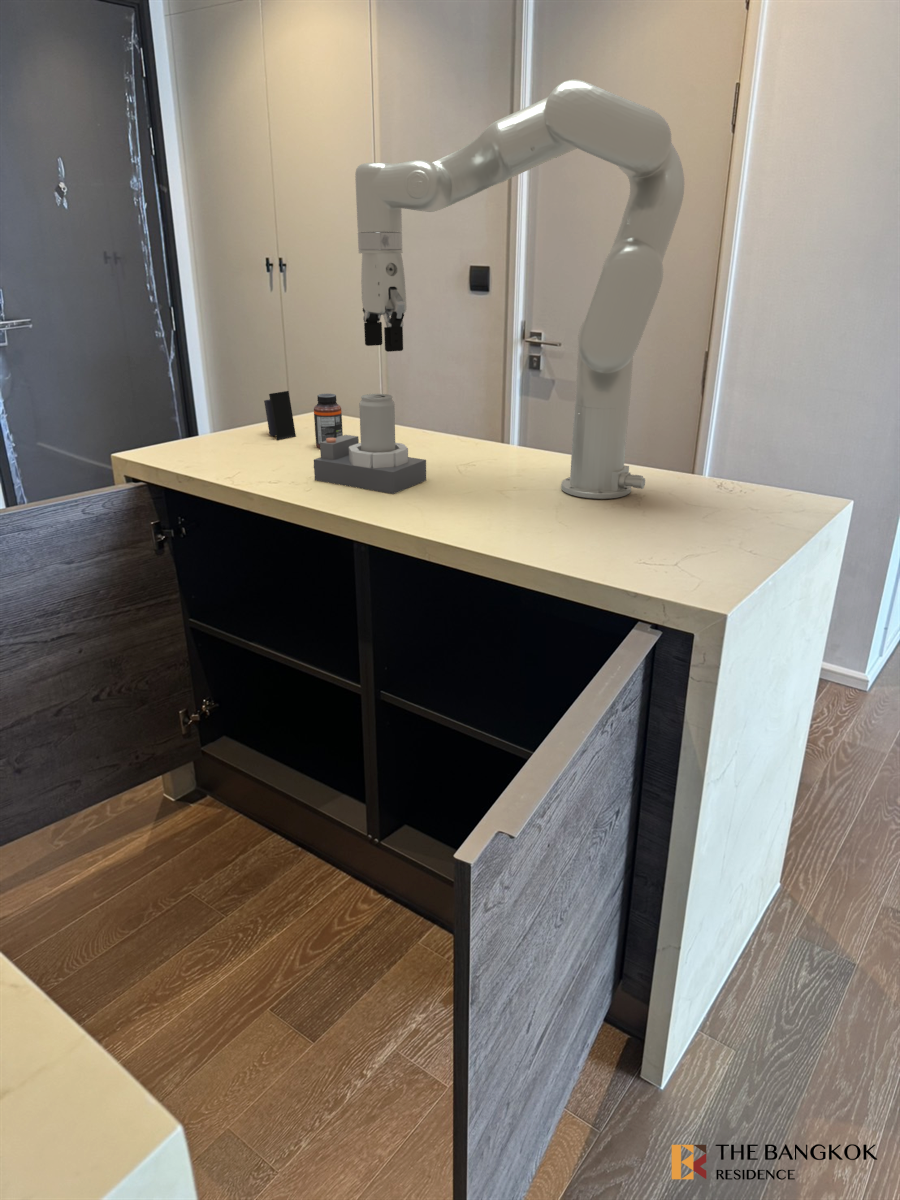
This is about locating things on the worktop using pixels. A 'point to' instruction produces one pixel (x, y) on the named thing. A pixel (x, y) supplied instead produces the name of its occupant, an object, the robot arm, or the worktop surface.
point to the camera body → (367, 466)
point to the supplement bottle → (327, 418)
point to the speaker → (280, 415)
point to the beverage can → (377, 423)
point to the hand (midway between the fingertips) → (383, 348)
